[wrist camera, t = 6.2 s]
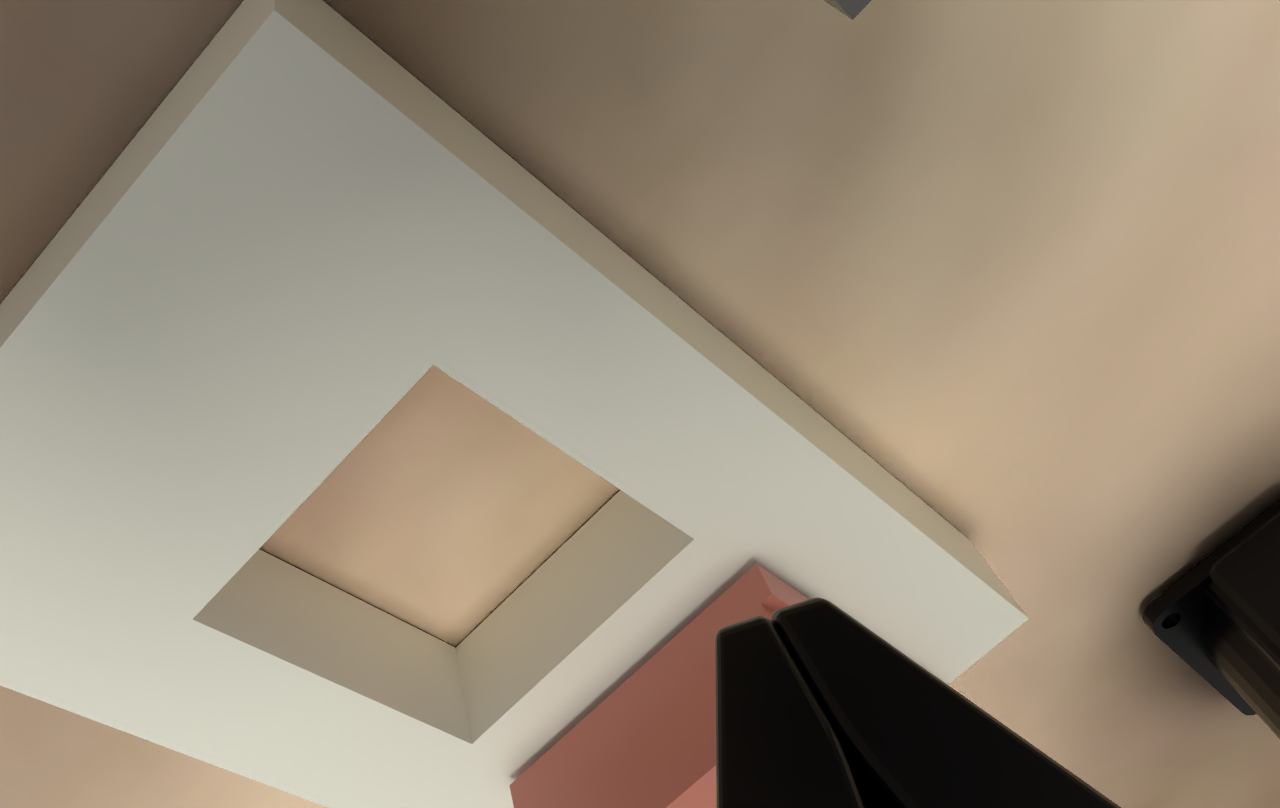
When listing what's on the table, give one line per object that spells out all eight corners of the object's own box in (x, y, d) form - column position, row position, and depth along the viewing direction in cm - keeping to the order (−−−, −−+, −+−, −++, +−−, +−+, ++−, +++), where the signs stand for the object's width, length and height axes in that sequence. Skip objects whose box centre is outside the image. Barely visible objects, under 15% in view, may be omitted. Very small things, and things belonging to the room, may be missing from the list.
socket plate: (969, 540, 25) (1029, 619, 23) (624, 834, 28) (650, 928, 26) (275, -39, 16) (275, 10, 14) (-156, 498, 18) (-211, 607, 16)
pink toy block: (951, 696, 24) (1022, 808, 21) (727, 879, 25) (771, 1000, 23) (756, 563, 20) (815, 679, 18) (509, 785, 22) (535, 918, 20)
